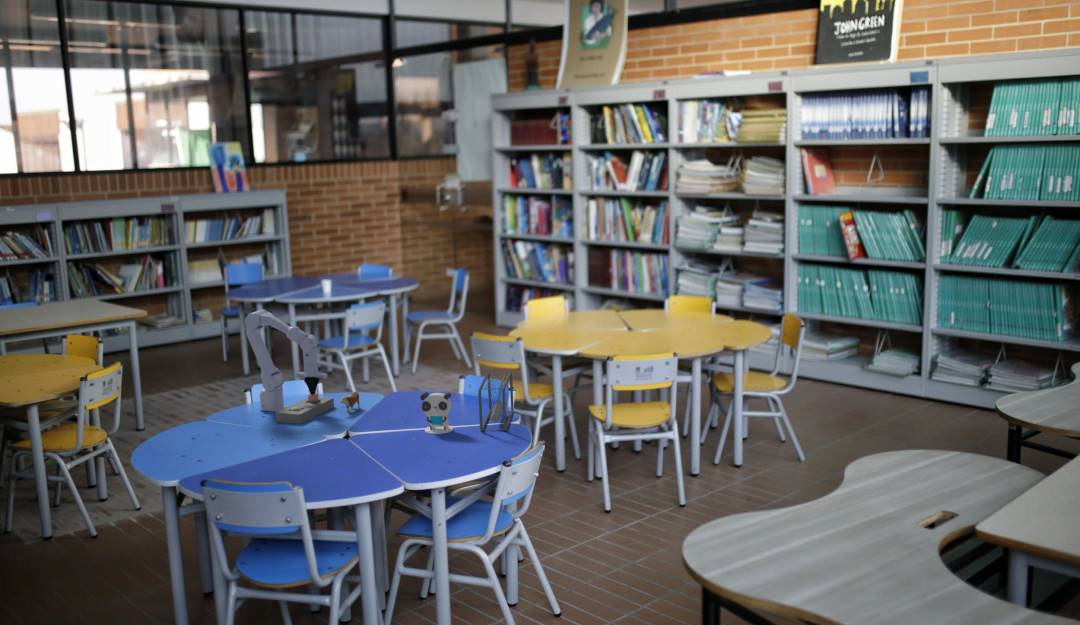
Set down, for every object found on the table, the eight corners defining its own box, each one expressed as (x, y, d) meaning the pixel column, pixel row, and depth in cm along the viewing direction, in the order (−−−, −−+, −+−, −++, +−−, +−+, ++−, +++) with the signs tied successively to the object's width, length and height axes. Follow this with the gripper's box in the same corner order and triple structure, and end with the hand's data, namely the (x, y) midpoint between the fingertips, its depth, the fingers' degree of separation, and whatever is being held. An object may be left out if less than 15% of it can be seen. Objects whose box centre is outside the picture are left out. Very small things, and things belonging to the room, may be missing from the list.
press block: (276, 421, 402) (275, 412, 401) (310, 405, 426) (310, 396, 425) (300, 423, 398) (300, 414, 397) (334, 406, 422) (333, 398, 421)
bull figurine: (339, 415, 409) (337, 396, 408) (354, 406, 422) (352, 388, 420) (348, 415, 408) (347, 397, 406) (363, 407, 420) (362, 389, 419)
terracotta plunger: (306, 403, 416) (305, 395, 416) (312, 400, 420) (311, 392, 420) (315, 403, 415) (314, 396, 414) (320, 401, 419) (320, 393, 418)
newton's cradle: (506, 432, 377) (504, 388, 374) (479, 433, 378) (477, 389, 374) (513, 411, 406) (512, 370, 403) (489, 411, 407) (487, 370, 404)
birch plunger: (289, 417, 405) (288, 409, 404) (295, 414, 409) (294, 406, 408) (298, 418, 403) (297, 410, 402) (304, 415, 407) (303, 407, 407)
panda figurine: (419, 433, 379) (416, 396, 377) (428, 425, 390) (426, 389, 388) (447, 434, 377) (445, 397, 374) (457, 426, 387) (455, 390, 385)
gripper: (290, 364, 413) (293, 395, 415) (320, 366, 408) (322, 397, 411) (300, 361, 420) (302, 391, 422) (329, 362, 415) (331, 393, 417)
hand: (313, 393), depth 417 cm, fingers closed
